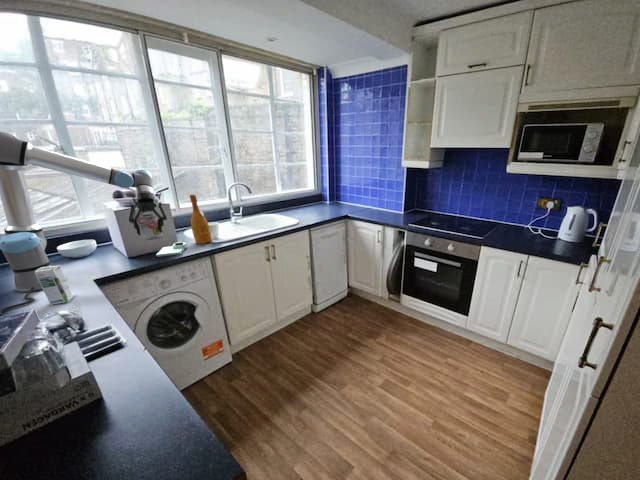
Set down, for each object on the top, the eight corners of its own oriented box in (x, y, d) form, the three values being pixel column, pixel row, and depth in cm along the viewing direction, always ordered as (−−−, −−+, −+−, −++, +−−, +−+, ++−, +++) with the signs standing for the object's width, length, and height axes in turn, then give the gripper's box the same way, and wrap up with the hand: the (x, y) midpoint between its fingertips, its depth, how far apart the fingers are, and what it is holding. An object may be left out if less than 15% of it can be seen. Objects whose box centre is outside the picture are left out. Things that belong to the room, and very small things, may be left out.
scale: (182, 254, 168) (180, 249, 167) (156, 257, 164) (155, 252, 163) (188, 246, 180) (186, 241, 179) (164, 249, 177) (163, 244, 176)
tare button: (182, 245, 174) (181, 242, 174) (174, 246, 173) (173, 243, 173) (183, 243, 178) (183, 241, 177) (176, 244, 177) (175, 241, 176)
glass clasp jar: (153, 241, 149) (146, 217, 144) (138, 240, 150) (131, 217, 145) (167, 235, 157) (160, 213, 152) (153, 235, 158) (146, 213, 153)
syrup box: (49, 305, 116) (32, 272, 110) (57, 298, 121) (41, 266, 115) (68, 302, 118) (52, 269, 112) (74, 295, 123) (59, 264, 117)
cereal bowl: (68, 253, 174) (63, 242, 171) (103, 248, 180) (99, 237, 177) (56, 262, 160) (50, 250, 157) (94, 257, 166) (89, 245, 163)
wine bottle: (200, 245, 182) (188, 196, 170) (192, 242, 187) (179, 195, 175) (215, 241, 190) (204, 193, 178) (206, 238, 195) (195, 192, 183)
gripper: (171, 198, 163) (176, 233, 156) (124, 202, 155) (127, 239, 148) (167, 190, 157) (172, 225, 150) (118, 193, 149) (121, 231, 142)
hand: (149, 232), depth 149 cm, fingers closed on glass clasp jar, 9 cm apart
